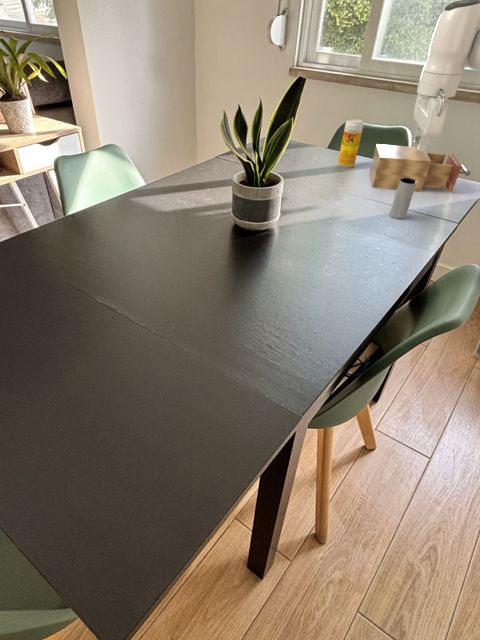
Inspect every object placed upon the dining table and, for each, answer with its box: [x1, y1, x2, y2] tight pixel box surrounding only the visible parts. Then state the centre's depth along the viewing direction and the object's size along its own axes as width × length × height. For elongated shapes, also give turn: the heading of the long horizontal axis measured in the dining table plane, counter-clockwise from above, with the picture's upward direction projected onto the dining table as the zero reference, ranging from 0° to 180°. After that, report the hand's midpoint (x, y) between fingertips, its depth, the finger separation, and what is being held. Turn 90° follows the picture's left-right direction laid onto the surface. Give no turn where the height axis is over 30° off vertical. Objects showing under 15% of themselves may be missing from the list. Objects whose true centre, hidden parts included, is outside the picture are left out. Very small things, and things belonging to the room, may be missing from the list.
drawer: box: [423, 152, 472, 192], centre depth 141 cm, size 19×13×8 cm
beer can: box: [337, 118, 364, 169], centre depth 153 cm, size 6×6×15 cm
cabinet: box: [369, 143, 431, 193], centre depth 143 cm, size 16×15×10 cm
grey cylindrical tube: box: [389, 178, 417, 220], centre depth 122 cm, size 4×4×10 cm
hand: (418, 146), depth 112 cm, fingers open, 5 cm apart
